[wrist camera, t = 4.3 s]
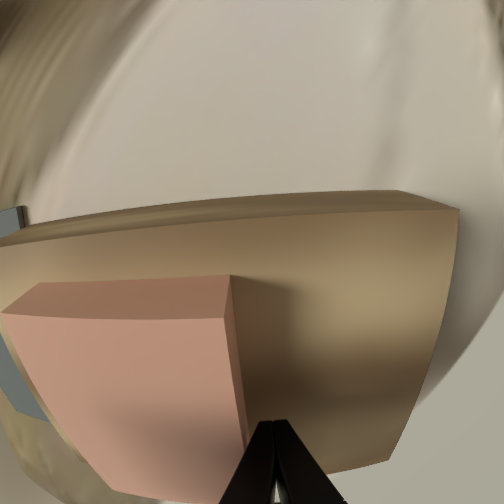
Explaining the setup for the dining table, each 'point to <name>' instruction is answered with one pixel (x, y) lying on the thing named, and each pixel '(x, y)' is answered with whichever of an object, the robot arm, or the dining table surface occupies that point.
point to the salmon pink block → (140, 379)
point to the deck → (282, 298)
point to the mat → (3, 366)
